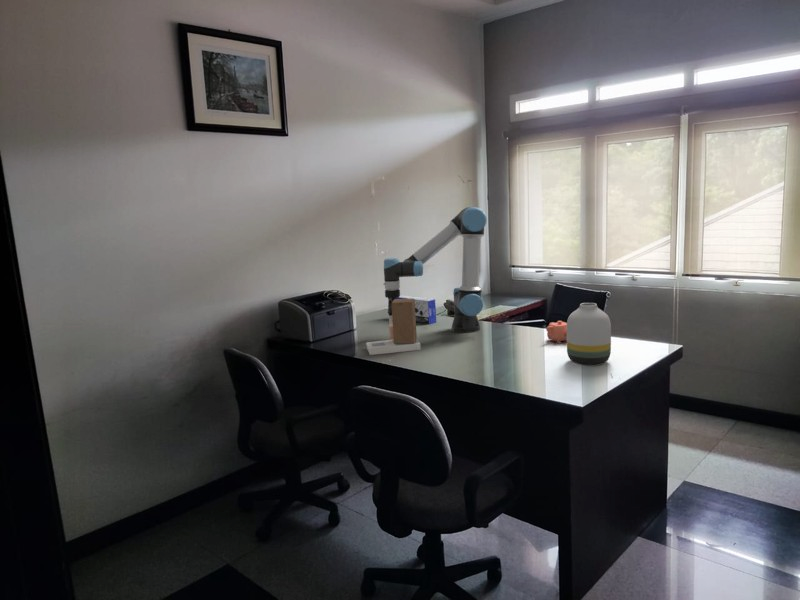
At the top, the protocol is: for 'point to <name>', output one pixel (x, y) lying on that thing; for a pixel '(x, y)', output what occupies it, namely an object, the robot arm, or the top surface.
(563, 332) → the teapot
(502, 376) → the top surface
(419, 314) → the ink box
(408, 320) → the wooden block
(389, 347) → the foundation board
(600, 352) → the vase
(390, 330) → the terracotta block
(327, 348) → the top surface
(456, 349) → the top surface
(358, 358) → the top surface
